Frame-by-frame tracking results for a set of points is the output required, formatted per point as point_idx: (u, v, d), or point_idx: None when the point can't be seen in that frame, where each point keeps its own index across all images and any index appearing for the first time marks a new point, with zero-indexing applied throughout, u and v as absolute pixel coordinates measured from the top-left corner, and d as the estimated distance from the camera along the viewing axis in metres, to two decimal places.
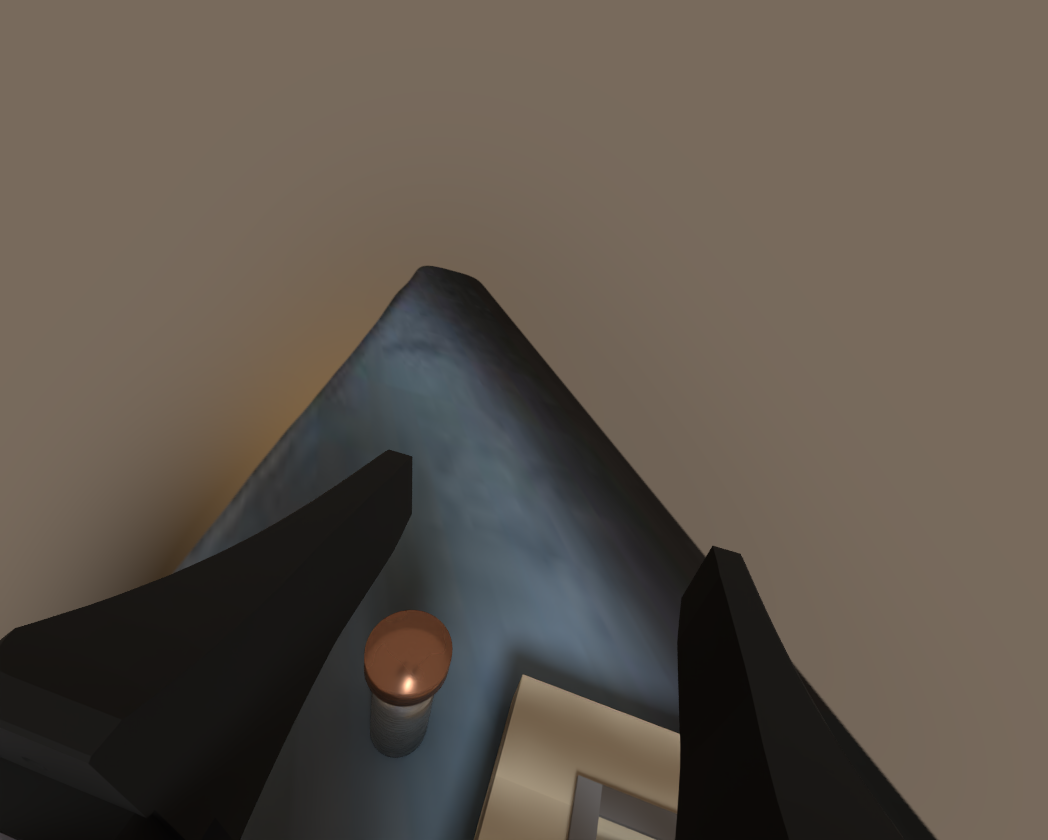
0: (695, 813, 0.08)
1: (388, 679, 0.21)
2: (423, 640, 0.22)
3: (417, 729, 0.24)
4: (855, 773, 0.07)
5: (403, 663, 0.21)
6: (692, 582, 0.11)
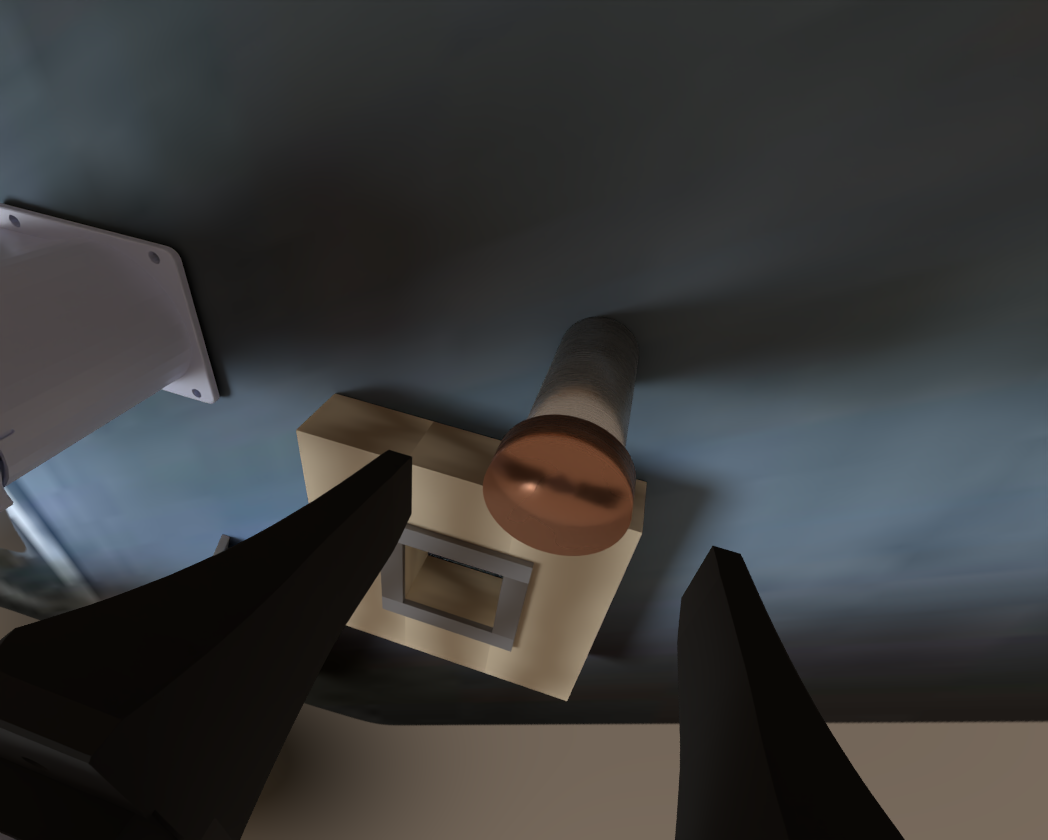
0: (695, 813, 0.08)
1: (499, 480, 0.12)
2: (574, 521, 0.13)
3: None
4: (855, 773, 0.07)
5: (529, 496, 0.12)
6: (692, 582, 0.11)
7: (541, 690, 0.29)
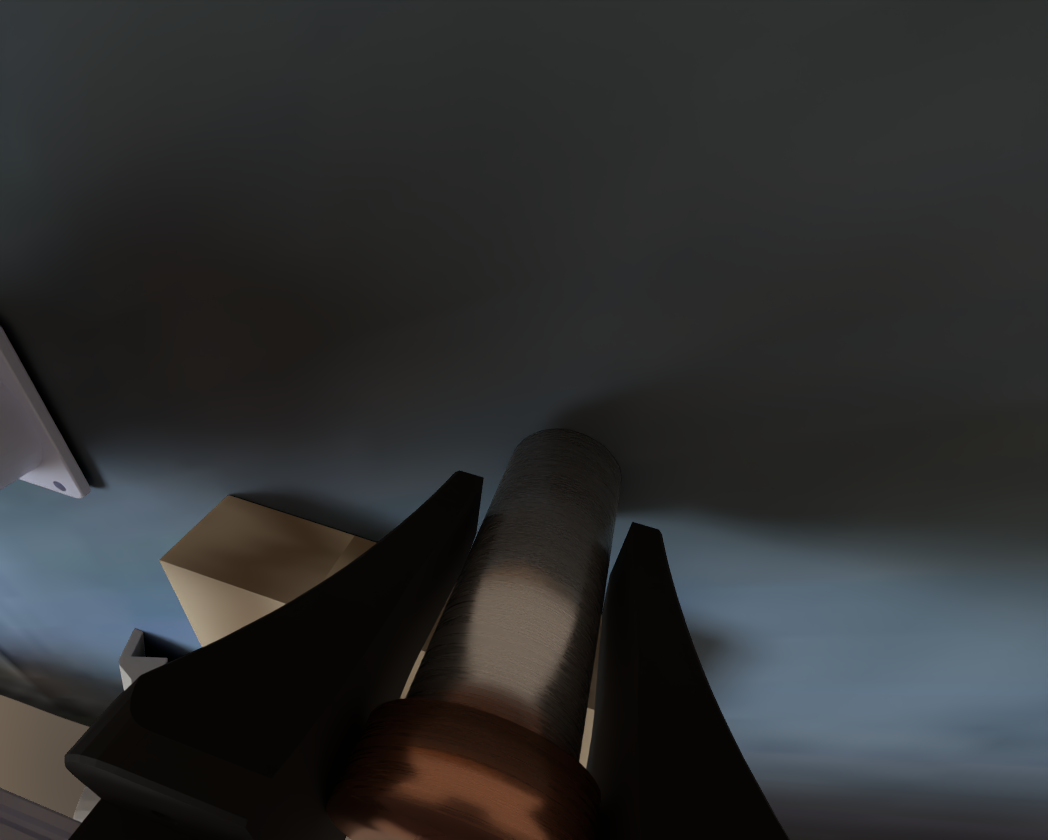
0: (593, 777, 0.09)
1: (352, 817, 0.07)
2: None
3: None
4: (725, 729, 0.07)
5: None
6: (617, 559, 0.12)
7: None
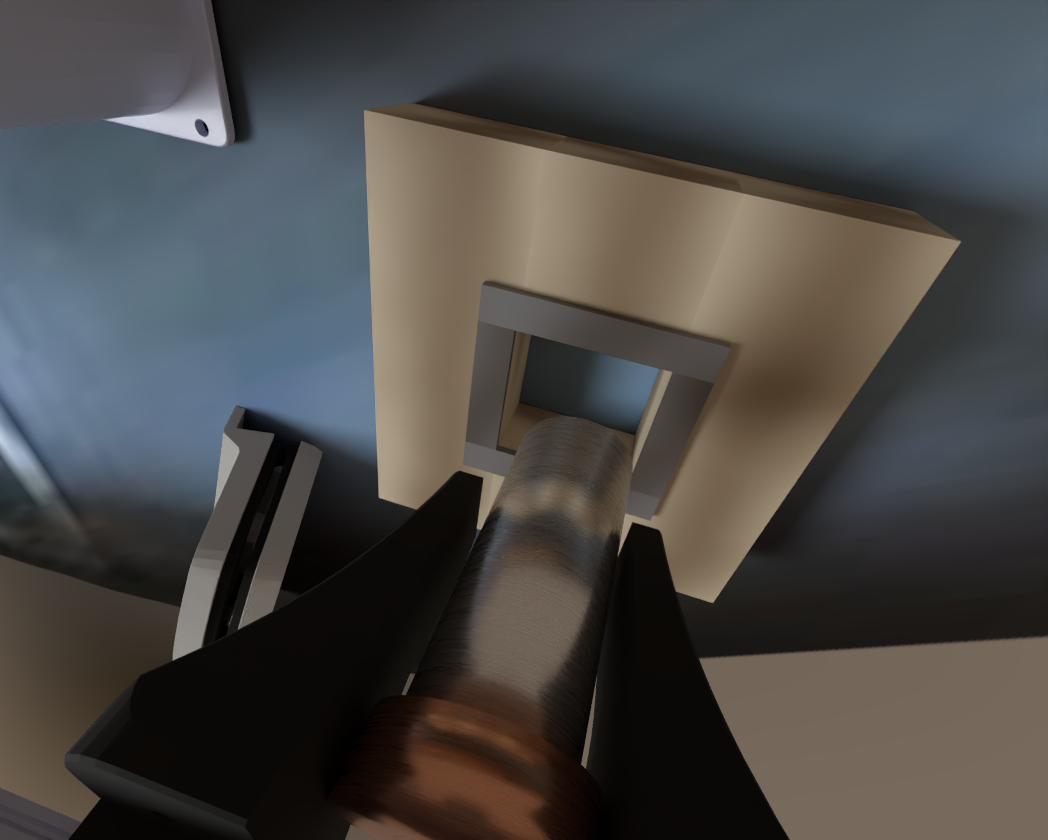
0: (593, 776, 0.09)
1: (353, 809, 0.07)
2: None
3: None
4: (725, 729, 0.07)
5: (408, 837, 0.07)
6: (617, 559, 0.12)
7: (677, 588, 0.21)
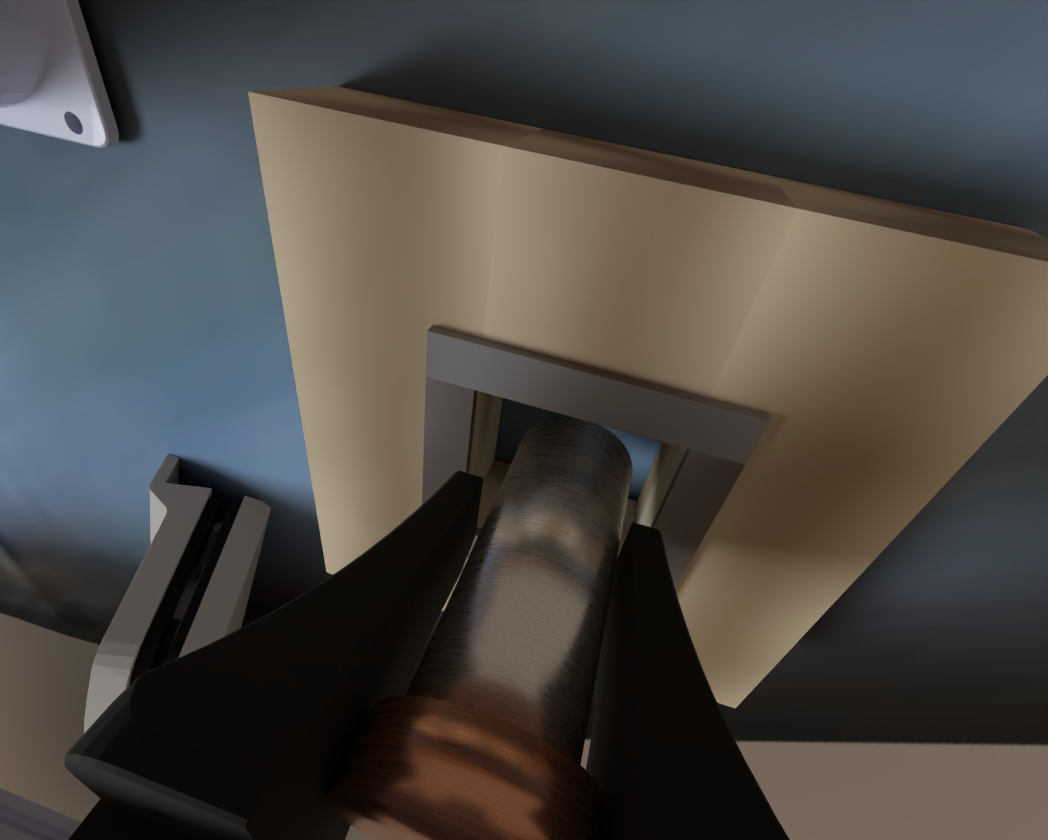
0: (593, 776, 0.09)
1: (352, 809, 0.07)
2: None
3: None
4: (725, 729, 0.07)
5: (407, 837, 0.07)
6: (617, 559, 0.12)
7: None
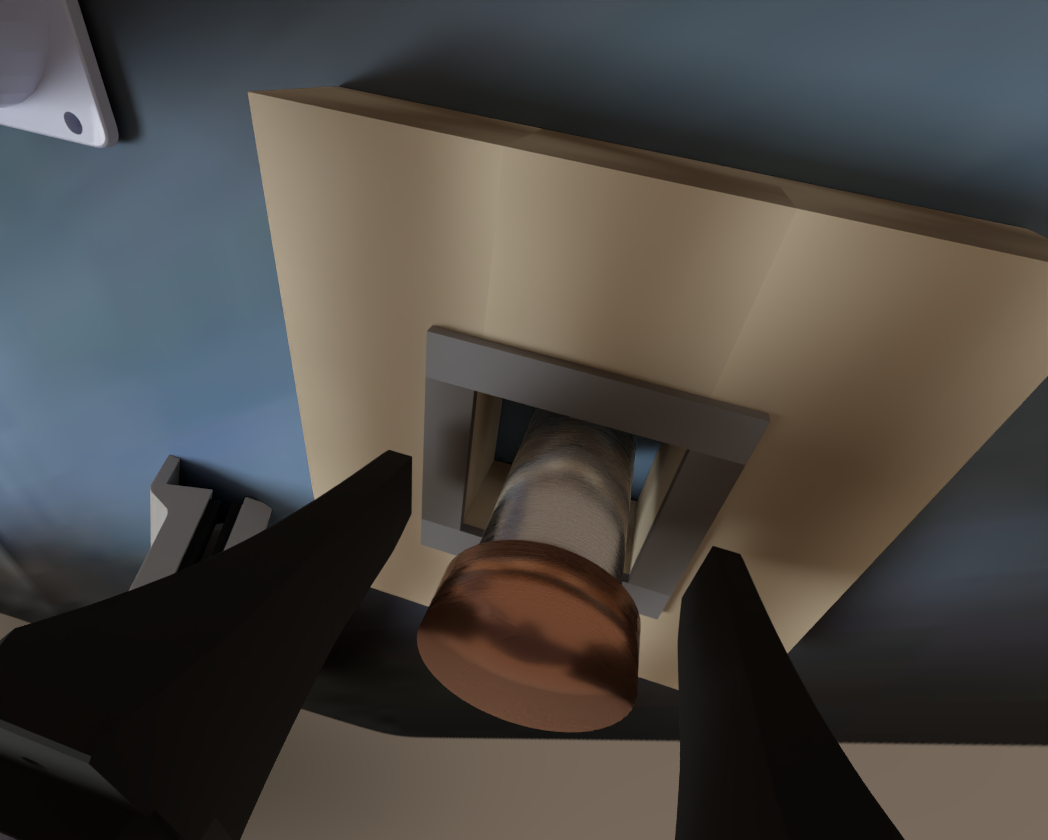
0: (695, 813, 0.08)
1: (440, 636, 0.08)
2: (551, 694, 0.09)
3: None
4: (855, 773, 0.07)
5: (484, 660, 0.08)
6: (692, 582, 0.11)
7: None
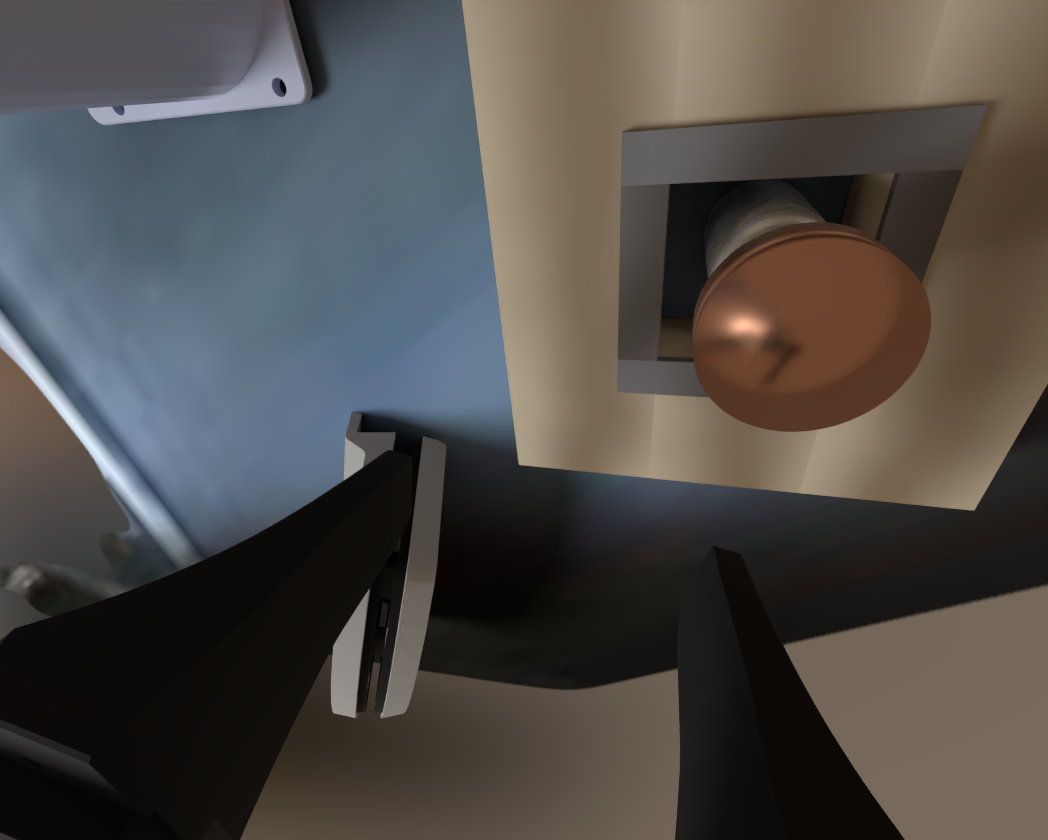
0: (695, 813, 0.08)
1: (718, 331, 0.09)
2: (833, 368, 0.09)
3: None
4: (855, 773, 0.07)
5: (764, 345, 0.09)
6: (692, 582, 0.11)
7: (919, 500, 0.16)
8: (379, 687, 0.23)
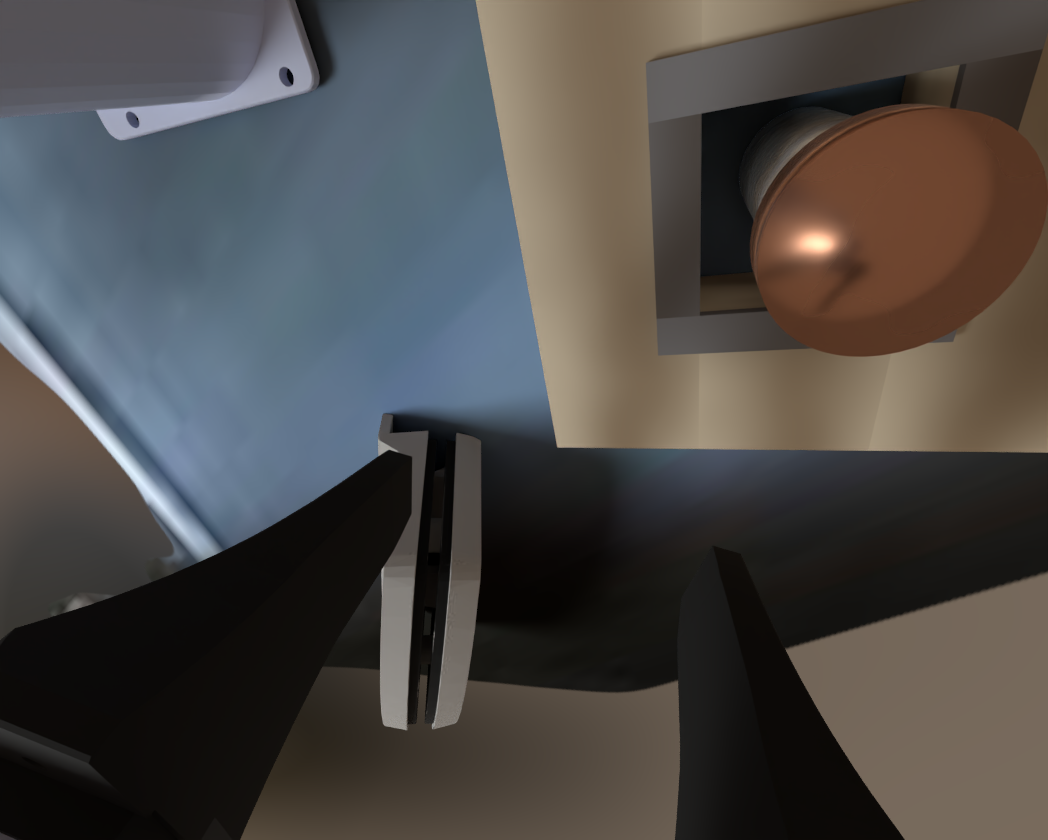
0: (695, 813, 0.08)
1: (786, 244, 0.08)
2: (927, 271, 0.08)
3: None
4: (855, 773, 0.07)
5: (841, 254, 0.08)
6: (692, 582, 0.11)
7: (1009, 447, 0.14)
8: (429, 695, 0.22)
